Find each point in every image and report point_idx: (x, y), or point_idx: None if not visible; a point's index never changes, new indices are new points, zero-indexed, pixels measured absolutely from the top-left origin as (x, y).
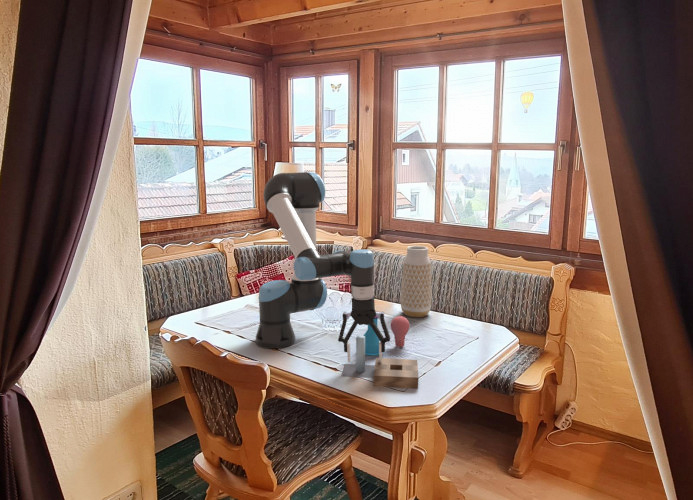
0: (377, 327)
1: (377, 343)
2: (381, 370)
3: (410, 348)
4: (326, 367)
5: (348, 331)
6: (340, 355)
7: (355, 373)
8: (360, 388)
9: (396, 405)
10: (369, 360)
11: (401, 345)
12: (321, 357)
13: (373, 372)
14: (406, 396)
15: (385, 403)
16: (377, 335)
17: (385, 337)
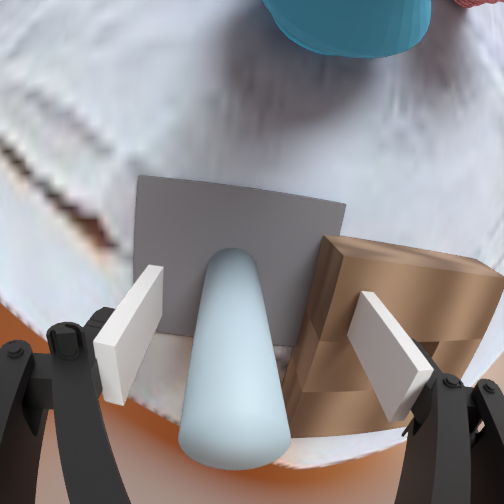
0: (464, 491)
1: (391, 45)
2: (331, 402)
3: (488, 26)
4: (55, 211)
5: (58, 438)
6: (125, 39)
7: None
8: None
9: (321, 463)
10: (300, 108)
11: (467, 4)
12: (31, 85)
13: (301, 292)
14: None
15: (295, 461)
16: (406, 478)
17: (468, 411)
